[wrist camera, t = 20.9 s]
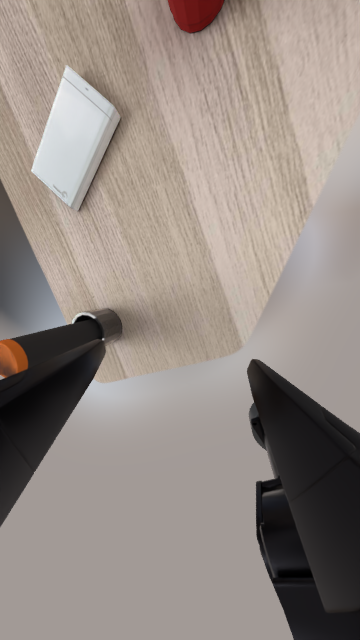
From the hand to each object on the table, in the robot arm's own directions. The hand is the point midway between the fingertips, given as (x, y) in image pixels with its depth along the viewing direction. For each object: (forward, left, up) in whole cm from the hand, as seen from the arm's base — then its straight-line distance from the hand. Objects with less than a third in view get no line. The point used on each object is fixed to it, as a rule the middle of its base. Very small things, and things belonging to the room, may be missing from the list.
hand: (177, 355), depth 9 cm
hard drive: (+28, +2, -13) cm, 31 cm away
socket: (+7, +14, -13) cm, 20 cm away
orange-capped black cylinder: (+7, +14, -12) cm, 20 cm away
